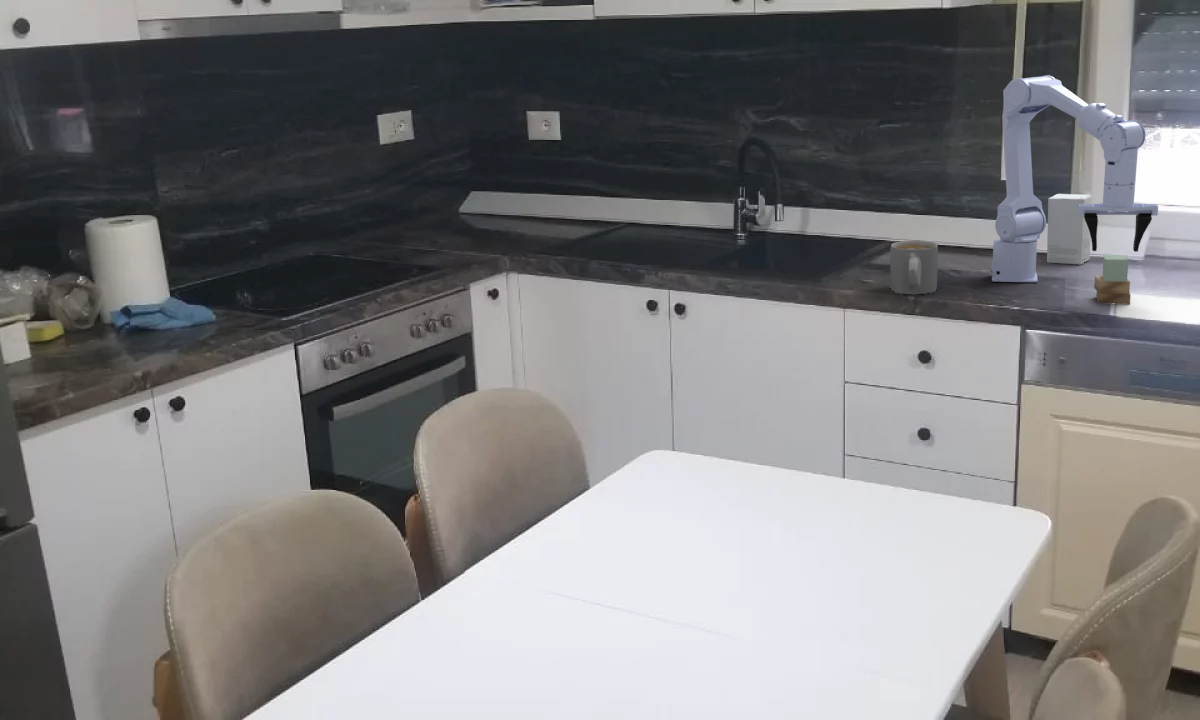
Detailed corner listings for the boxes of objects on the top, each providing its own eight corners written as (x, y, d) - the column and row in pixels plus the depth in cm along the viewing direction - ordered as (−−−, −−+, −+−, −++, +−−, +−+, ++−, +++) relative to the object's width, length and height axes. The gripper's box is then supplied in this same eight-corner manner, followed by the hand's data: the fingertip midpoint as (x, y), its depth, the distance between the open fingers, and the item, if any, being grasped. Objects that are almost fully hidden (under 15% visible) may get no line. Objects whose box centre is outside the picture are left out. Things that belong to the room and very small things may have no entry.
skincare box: (1090, 260, 276) (1094, 194, 272) (1080, 266, 271) (1084, 198, 267) (1054, 257, 282) (1058, 192, 277) (1044, 262, 277) (1047, 196, 272)
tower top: (1099, 294, 239) (1100, 282, 238) (1094, 287, 244) (1094, 275, 243) (1129, 293, 237) (1130, 281, 237) (1123, 287, 243) (1123, 275, 242)
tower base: (1097, 305, 239) (1098, 293, 239) (1096, 298, 245) (1096, 286, 244) (1129, 306, 237) (1130, 294, 237) (1127, 299, 243) (1128, 287, 242)
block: (1103, 281, 238) (1104, 259, 237) (1102, 276, 242) (1103, 254, 241) (1126, 281, 237) (1128, 259, 235) (1125, 276, 241) (1127, 255, 239)
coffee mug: (896, 283, 265) (896, 239, 262) (940, 285, 261) (942, 241, 258) (881, 297, 254) (882, 251, 251) (928, 300, 249) (929, 253, 247)
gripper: (1081, 186, 233) (1077, 254, 237) (1161, 186, 228) (1156, 254, 232) (1079, 181, 239) (1075, 246, 243) (1157, 180, 234) (1152, 247, 238)
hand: (1114, 250), depth 238 cm, fingers open, 7 cm apart
